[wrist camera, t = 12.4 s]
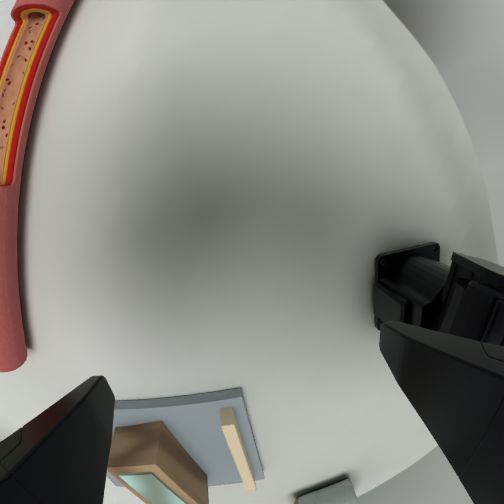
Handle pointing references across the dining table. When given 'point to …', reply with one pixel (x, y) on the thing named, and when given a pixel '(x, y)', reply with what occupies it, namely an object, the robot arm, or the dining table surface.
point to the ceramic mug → (331, 495)
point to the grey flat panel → (203, 432)
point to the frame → (156, 465)
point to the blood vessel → (20, 148)
